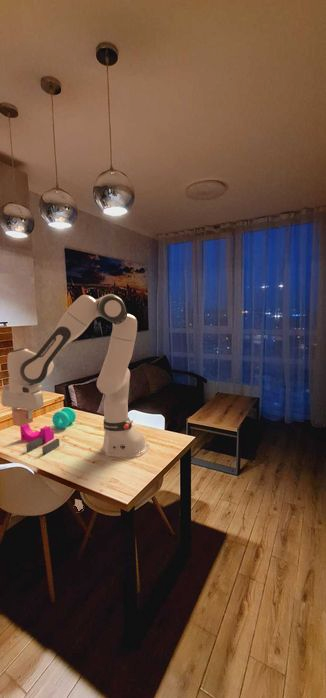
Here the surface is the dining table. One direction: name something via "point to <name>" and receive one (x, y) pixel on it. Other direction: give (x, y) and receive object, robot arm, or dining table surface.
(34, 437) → the toy block
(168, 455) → the dining table surface
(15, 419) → the terracotta block
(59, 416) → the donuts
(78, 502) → the vase
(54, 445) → the guide channel
